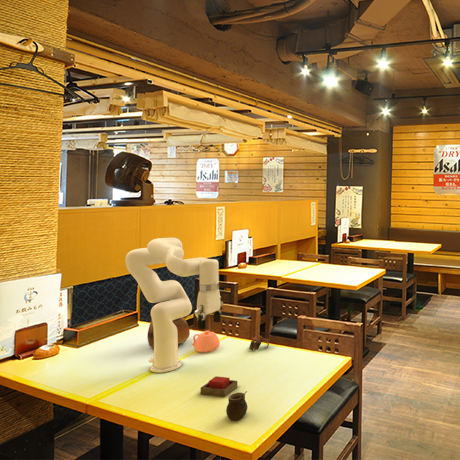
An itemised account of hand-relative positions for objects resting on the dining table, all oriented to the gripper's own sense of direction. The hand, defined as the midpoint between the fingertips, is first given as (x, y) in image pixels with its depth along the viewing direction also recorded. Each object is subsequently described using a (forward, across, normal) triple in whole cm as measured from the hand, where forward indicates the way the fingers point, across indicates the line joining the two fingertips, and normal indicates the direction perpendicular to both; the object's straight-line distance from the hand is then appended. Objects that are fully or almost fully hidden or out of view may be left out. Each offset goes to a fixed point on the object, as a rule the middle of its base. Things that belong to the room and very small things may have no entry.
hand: (209, 325), depth 162 cm
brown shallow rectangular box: (+24, +9, +11) cm, 28 cm away
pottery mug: (+24, -36, +2) cm, 44 cm away
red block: (+24, +9, +11) cm, 27 cm away
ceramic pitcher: (+24, -31, -49) cm, 63 cm away
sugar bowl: (+24, -29, -25) cm, 45 cm away
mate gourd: (+24, +25, +30) cm, 46 cm away
